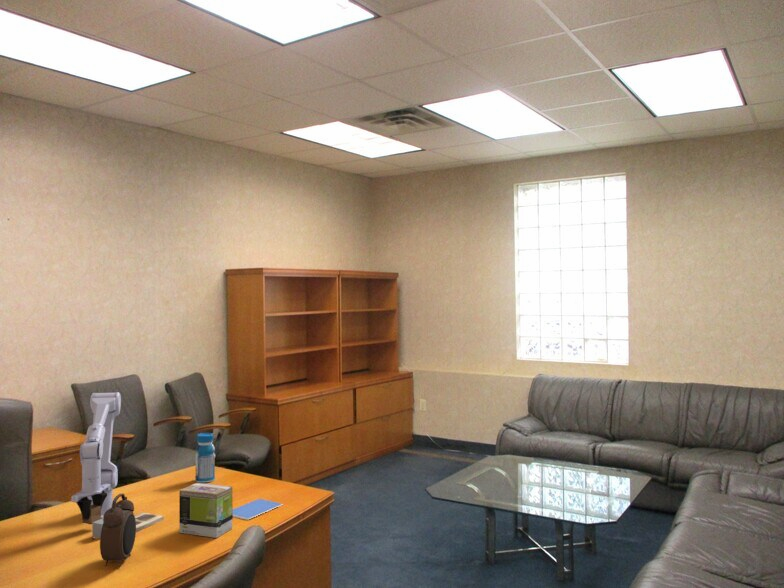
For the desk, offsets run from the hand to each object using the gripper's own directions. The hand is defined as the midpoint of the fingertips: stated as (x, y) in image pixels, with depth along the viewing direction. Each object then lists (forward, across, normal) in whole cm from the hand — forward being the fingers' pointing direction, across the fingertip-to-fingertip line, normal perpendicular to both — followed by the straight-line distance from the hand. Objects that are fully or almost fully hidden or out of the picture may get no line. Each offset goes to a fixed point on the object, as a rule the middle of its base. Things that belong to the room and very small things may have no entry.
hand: (91, 516), depth 213 cm
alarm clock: (+4, -16, -29) cm, 34 cm away
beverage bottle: (+5, +61, +1) cm, 61 cm away
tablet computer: (+5, +38, -40) cm, 55 cm away
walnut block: (+2, 0, 0) cm, 2 cm away
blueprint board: (+4, +10, -11) cm, 15 cm away
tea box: (+4, +14, -37) cm, 40 cm away
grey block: (+4, -3, -8) cm, 10 cm away
